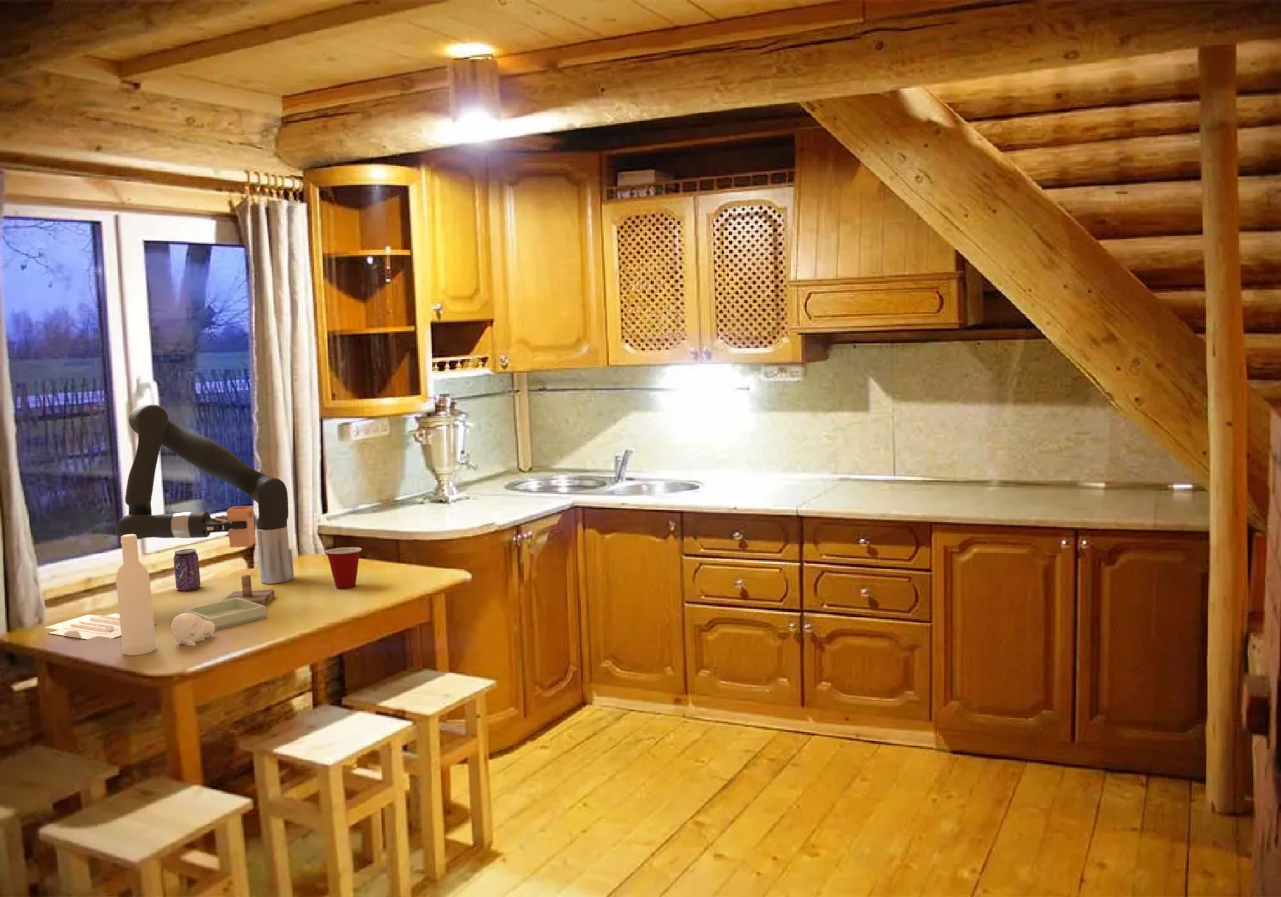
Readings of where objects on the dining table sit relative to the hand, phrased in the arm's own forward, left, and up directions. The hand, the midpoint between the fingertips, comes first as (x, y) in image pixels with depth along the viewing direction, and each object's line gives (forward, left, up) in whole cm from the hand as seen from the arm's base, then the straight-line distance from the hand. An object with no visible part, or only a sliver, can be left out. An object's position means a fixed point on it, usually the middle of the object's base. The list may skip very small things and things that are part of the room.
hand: (249, 522), depth 327 cm
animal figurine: (+30, +24, -24) cm, 45 cm away
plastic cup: (-26, +6, -24) cm, 36 cm away
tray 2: (+40, -12, -25) cm, 48 cm away
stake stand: (+2, -2, -24) cm, 24 cm away
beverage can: (+5, -34, -24) cm, 42 cm away
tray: (+15, +10, -24) cm, 30 cm away
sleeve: (+2, -2, -6) cm, 7 cm away
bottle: (+43, +20, -24) cm, 53 cm away
